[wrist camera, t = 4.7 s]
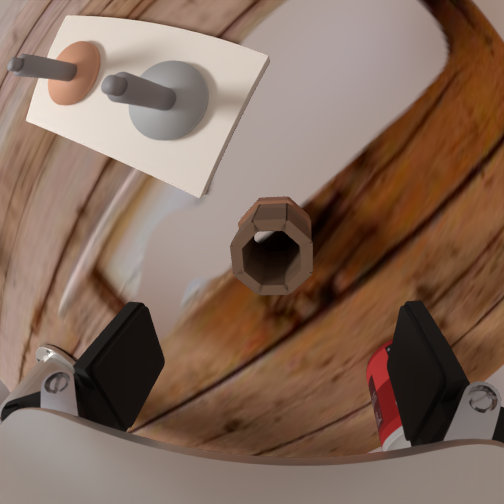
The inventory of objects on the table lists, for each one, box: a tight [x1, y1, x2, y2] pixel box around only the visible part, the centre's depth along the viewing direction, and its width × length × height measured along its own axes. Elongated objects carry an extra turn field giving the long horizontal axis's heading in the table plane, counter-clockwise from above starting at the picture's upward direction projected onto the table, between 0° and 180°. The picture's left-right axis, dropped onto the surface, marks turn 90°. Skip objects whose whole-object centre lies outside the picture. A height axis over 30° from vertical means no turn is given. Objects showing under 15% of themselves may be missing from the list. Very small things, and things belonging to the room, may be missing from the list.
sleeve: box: [230, 197, 313, 295], centre depth 20 cm, size 6×6×6 cm
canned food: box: [366, 339, 411, 451], centre depth 22 cm, size 8×8×11 cm
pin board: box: [7, 16, 270, 198], centre depth 15 cm, size 22×12×10 cm, turn 65°
